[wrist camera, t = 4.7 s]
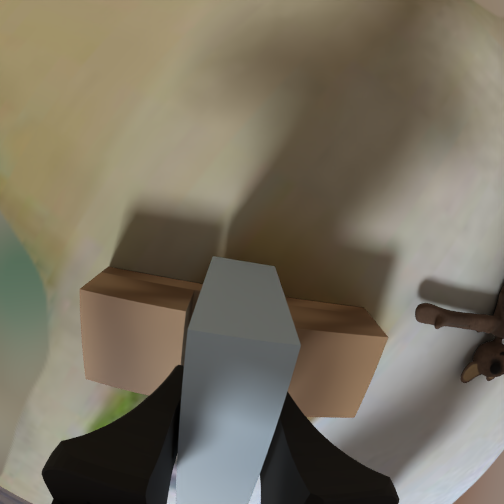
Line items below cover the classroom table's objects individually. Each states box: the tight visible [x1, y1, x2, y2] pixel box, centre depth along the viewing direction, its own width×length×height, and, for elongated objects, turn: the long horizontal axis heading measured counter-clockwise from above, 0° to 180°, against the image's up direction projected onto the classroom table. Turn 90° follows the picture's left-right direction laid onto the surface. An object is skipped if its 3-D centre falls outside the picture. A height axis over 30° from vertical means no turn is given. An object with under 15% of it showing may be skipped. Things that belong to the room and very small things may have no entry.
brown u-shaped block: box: [80, 267, 388, 418], centre depth 15 cm, size 14×5×4 cm, turn 80°
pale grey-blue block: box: [176, 256, 301, 504], centre depth 12 cm, size 3×9×7 cm, turn 170°
